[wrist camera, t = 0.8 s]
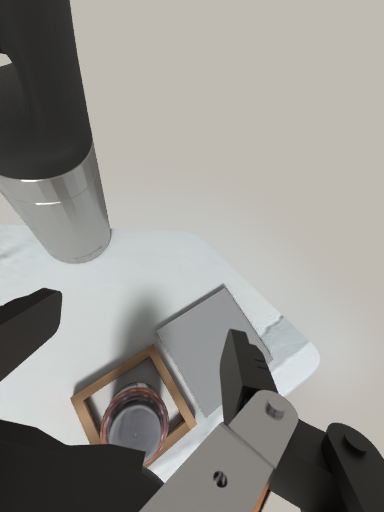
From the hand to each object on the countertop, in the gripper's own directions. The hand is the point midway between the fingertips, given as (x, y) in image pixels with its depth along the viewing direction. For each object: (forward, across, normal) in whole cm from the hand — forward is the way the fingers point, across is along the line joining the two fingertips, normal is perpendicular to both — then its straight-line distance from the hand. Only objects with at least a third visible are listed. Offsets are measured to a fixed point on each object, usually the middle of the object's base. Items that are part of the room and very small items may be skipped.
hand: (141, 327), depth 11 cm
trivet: (+20, -7, +13) cm, 24 cm away
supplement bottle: (+13, +1, +19) cm, 23 cm away
